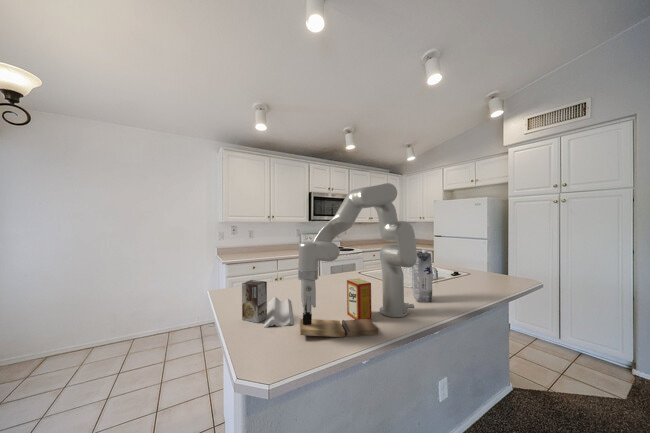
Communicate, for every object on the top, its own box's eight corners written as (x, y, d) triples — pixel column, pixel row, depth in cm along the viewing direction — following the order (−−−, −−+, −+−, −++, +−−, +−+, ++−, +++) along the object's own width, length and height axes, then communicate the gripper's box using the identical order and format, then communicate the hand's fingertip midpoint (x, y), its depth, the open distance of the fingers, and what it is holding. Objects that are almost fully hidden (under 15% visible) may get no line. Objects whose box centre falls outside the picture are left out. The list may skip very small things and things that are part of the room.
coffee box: (267, 317, 106) (267, 281, 107) (257, 323, 100) (257, 284, 101) (251, 314, 110) (251, 279, 111) (241, 320, 104) (241, 282, 105)
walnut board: (369, 323, 99) (369, 318, 99) (377, 334, 89) (377, 328, 89) (341, 325, 97) (341, 320, 97) (347, 337, 87) (347, 330, 88)
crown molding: (293, 326, 98) (292, 318, 98) (262, 329, 96) (262, 320, 96) (290, 302, 129) (290, 295, 129) (267, 304, 127) (267, 297, 127)
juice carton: (415, 302, 124) (414, 250, 125) (411, 296, 135) (410, 248, 136) (433, 303, 123) (432, 250, 124) (428, 297, 133) (427, 248, 134)
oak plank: (338, 325, 97) (339, 320, 97) (344, 337, 87) (344, 331, 87) (299, 323, 95) (300, 318, 95) (300, 335, 85) (301, 329, 85)
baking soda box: (347, 314, 110) (346, 279, 110) (359, 312, 112) (358, 277, 113) (358, 321, 101) (358, 283, 101) (371, 319, 104) (370, 282, 104)
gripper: (320, 279, 84) (319, 332, 83) (315, 271, 99) (315, 316, 98) (298, 279, 83) (297, 333, 82) (297, 271, 98) (296, 316, 97)
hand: (307, 323), depth 90 cm, fingers closed
